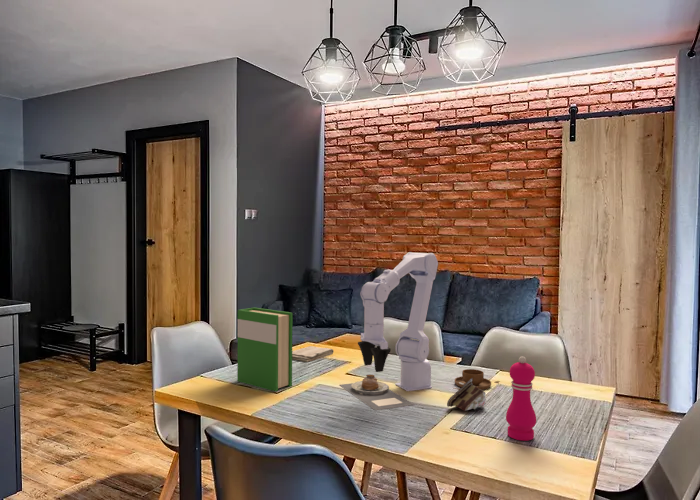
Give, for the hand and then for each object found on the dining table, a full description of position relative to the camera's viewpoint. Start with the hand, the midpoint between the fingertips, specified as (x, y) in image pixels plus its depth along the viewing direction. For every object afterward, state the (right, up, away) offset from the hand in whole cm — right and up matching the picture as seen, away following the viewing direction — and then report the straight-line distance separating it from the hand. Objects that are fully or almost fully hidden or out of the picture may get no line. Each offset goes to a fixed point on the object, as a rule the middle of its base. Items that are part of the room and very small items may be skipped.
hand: (373, 368), depth 155 cm
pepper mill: (+36, -11, -25) cm, 45 cm away
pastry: (-1, -10, +11) cm, 14 cm away
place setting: (+37, -11, +16) cm, 42 cm away
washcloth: (-23, -8, +55) cm, 60 cm away
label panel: (+1, -10, +6) cm, 11 cm away
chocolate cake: (+24, -13, -7) cm, 28 cm away
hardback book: (-35, -9, +16) cm, 39 cm away
